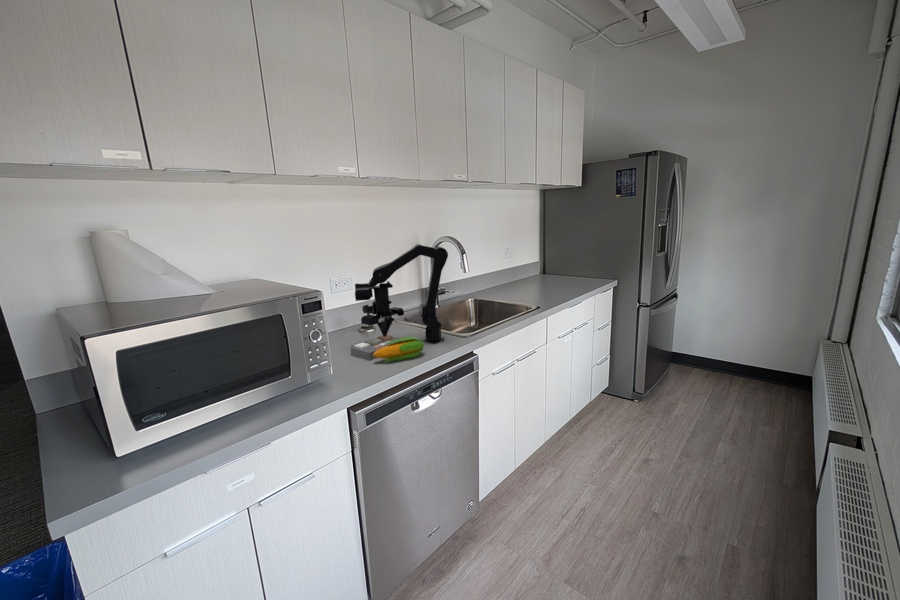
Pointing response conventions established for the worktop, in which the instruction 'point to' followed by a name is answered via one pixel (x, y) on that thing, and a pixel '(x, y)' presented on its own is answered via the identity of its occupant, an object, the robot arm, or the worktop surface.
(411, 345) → the corn
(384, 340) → the key terracotta
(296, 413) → the worktop surface
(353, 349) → the keypad
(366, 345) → the key offwhite
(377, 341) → the key sage
